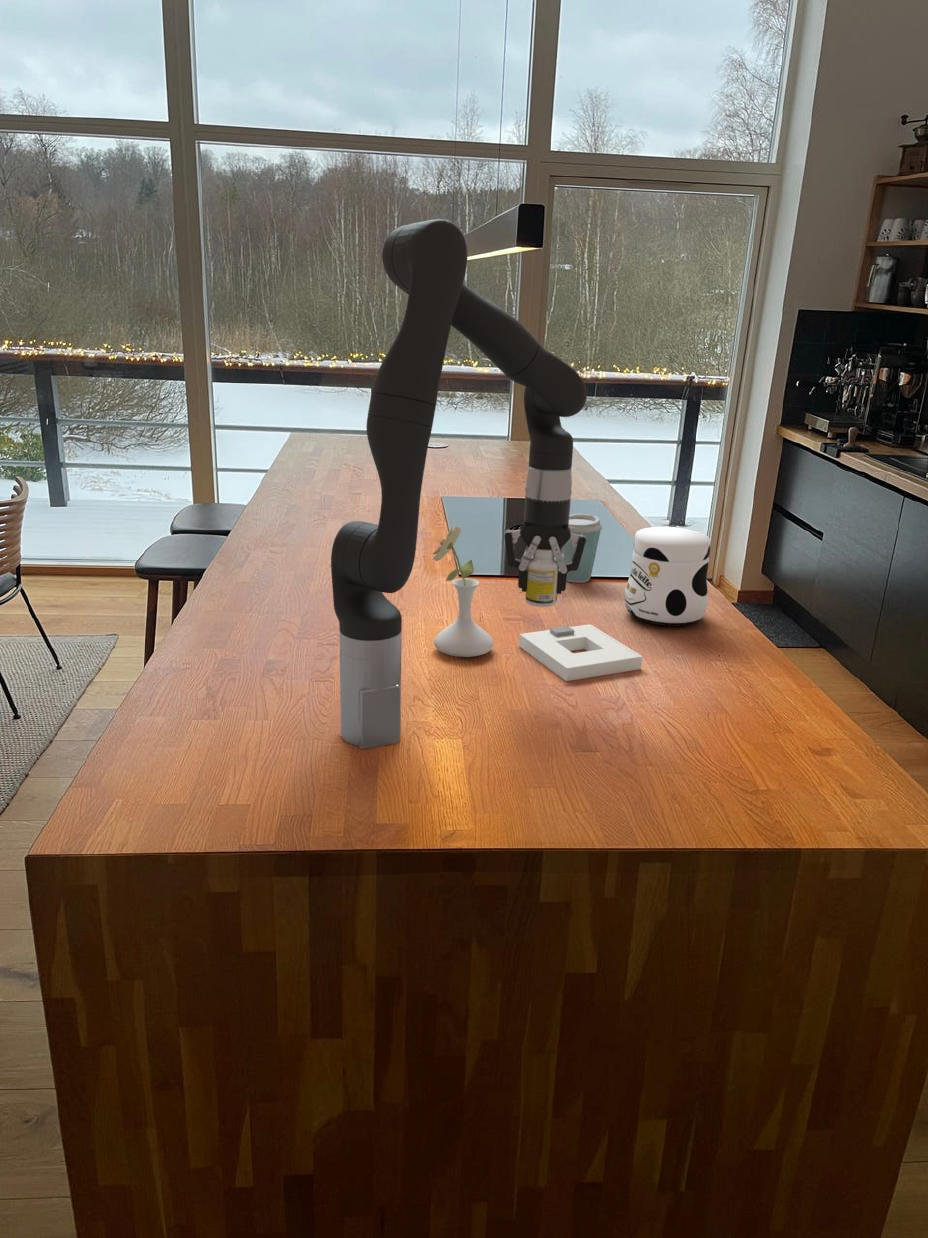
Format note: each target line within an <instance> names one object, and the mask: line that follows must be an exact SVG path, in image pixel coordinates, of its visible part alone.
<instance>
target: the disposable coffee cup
mask: <svg viewBox="0 0 928 1238" xmlns="http://www.w3.org/2000/svg"><path fill="white" fill-rule="evenodd" d="M602 525H603V524H602V523H601V519H600V517H599V516H596V515H593V514H590V513H589V514H586V513H573V514H569V529H570V531H571V533H574V534H578V535H580V534H584V535H585V536H586V543H585V546H584V550H583V553H582V556H581V560H580V563H579V567H578V569H577V570H576V571H569V572H568V573H567V579H566V582H569V583H575V584H577V583H578V584H579V583H580V584H582V583H587V582H590V579H591V577H592V573H593V568H594V565H595V563H594V562H595V558H596V556H597V555H596V554H597V551H598V550H597V549H598V546H599V545H598V544H599V541H600V537H601V535H600V534H601V530H603V526H602ZM561 549H562V552H563V555H564V558H565V561H566V563H568V562H571V561H572V557H573V554H574V550H575V547H573V545H572V540H571V539H569V540H568V541H567V543H566V544H565V545H564V546H563V547H562V548H561Z"/></svg>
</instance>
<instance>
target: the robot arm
mask: <svg viewBox="0 0 928 1238" xmlns="http://www.w3.org/2000/svg"><path fill="white" fill-rule="evenodd" d="M381 254H382V255H381V257H382V258H381V259H382V264H383V269H384V271H385V273H386V274H387V275H386V276H387V277H388V278H389V281H391V283H393V284H394V285H395V286H396V287H397V288H399V289H400V290H401V291H403V293H405V294H407V295H408V298H407V303H406V309H405V313H404V318H403V321H402V323H401V326H400V328H399V331H398V334H397V335H396V336H395V339H394V341H393V343H392V344H391V345H390V348H389V349H388V352H387V353H386V355H385V357H384V358H383V360H382V363H381V364H380V365H379V368H378V370H377V373H376V375H375V378H374V381H373V384H372V385H373V386H372V388H371V394H370V400H369V405H368V410H367V411H368V412H367V419H366V435H367V440H368V444H369V449H370V452H371V456H372V458H373V462H374V465H375V468H376V471H377V473H378V478H379V482H380V489H381V492H380V493H381V499H380V500H381V503H380V511H379V518H378V520H379V521H378V524H375V523H372V522H367V521H361V520H354V521H350V522H347V523H346V524H344V525H343V526H341V528H340V529H339V530H338V531H337V533H336V536H335V538H334V540H333V544H332V548H331V554H330V555H331V557H330V568H331V571H330V573H331V585H332V586H331V587H332V596H333V597H332V598H333V599H332V600H333V609H334V613H335V616H336V617H337V620H338V624H339V683H340V684H339V686H340V687H339V690H340V691H339V695H340V699H339V703H340V707H339V708H340V735H341V736H340V737H342V739H343V740H344V741H345V742H347V743H349V744H352V745H353V746H354V745H355V746H357V747H359V748H360V749H361V750H364V749H370V748H376V747H383V746H387V745H394V744H399V743H400V742H401V737H400V736H401V732H402V731H401V730H402V729H401V728H402V725H401V724H402V719H401V718H402V716H401V715H402V710H401V709H402V706H401V705H402V643H403V642H402V639H403V638H402V637H403V635H402V633H403V632H402V630H403V629H402V628H403V627H402V624H403V622H402V621H403V620H402V619H403V618H402V617H403V616H402V614H401V612H400V610H399V608H398V607H396V606H395V605H394V604H393V603H392V602H391V601H390V600H389V599H388V598H387V597H386V596H385V595H384V594H394V593H397V592H399V591H400V590H401V589H402V588H403V587H404V586H405V585H406V584H407V582H408V580H409V578H410V576H411V573H412V571H413V566H414V563H415V558H416V550H417V543H418V528H419V518H420V517H419V515H420V507H421V506H420V505H421V504H420V503H421V496H422V495H421V494H422V493H421V492H422V486H423V481H424V473H425V466H426V461H427V455H428V454H427V453H428V449H429V444H430V438H431V434H432V431H433V424H434V420H435V419H434V418H435V414H436V406H437V403H438V402H437V401H438V394H439V386H440V381H441V377H442V371H443V368H444V367H443V366H444V361H445V355H446V350H447V344H448V340H449V337H450V335H449V334H450V331H451V327H453V328H454V329H455V330H456V331H458V332H459V333H460V334H461V335H462V336H464V337H465V338H466V339H467V340H468V341H469V342H470V343H472V344H473V345H474V346H475V347H476V348H477V349H478V350H480V352H481V353H483V355H485V357H487V358H488V359H489V360H490V362H492V363H493V364H494V365H495V367H496V368H498V370H500V371H501V372H502V373H503V374H504V376H506V377H507V378H508V379H510V380H511V381H512V382H514V383H516V384H518V385H521V386H524V391H523V406H524V414H525V417H526V419H525V420H526V425H527V430H528V435H529V440H530V441H529V442H530V444H529V453H528V454H529V456H528V467H527V468H528V469H527V475H526V480H525V481H526V482H525V488H524V493H525V494H524V495H525V496H524V498H525V499H524V510H523V524H522V526H521V527H520V529H515V530H512V529H510V528H508V529H506V530H505V531H504V532H505V533H504V542H505V543H504V544H505V549H506V555H507V556H506V557H507V564H508V566H509V567H511V568H515V569H517V570H518V577H517V578H518V580H517V587H518V589H521V592H523V593H526V581H527V565H528V563H529V561H530V560H531V558H533V554H534V552H535V550H536V549H545V550H553V553H554V556H555V557H554V559H555V560H556V561H557V564H558V566H559V575H558V589H557V595H562V592H565V591H566V589H567V581H566V579H567V573H568V572H569V571H576V570H577V569H578V567H579V563H580V560H581V556H582V553H583V550H584V546H585V543H586V536H585V535H584V534H580V535H578V534H574V533H571V531H570V529H569V515H571V513H570V512H571V500H572V499H571V498H572V493H573V491H572V485H573V484H572V483H573V477H572V466H573V453H574V452H573V451H574V439H573V436H572V434H571V433H570V432H568V431H566V429H564V428H563V426H562V424H561V418H569V417H574V416H575V415H578V414H579V413H580V411H582V409H583V408H584V407H585V404H586V401H587V396H588V393H587V387H586V384H585V382H584V380H583V379H582V377H581V376H580V374H579V373H578V372H577V371H576V370H575V369H574V368H572V367H571V365H569V364H568V363H566V362H565V361H563V360H562V359H561V358H559V357H558V356H556V355H555V354H554V353H552V352H551V351H549V350H547V349H546V348H545V347H544V346H543V345H542V344H541V342H539V341H538V340H537V338H535V336H533V334H532V333H531V332H530V331H529V330H528V329H527V328H526V327H525V326H524V325H523V324H522V323H521V322H520V321H519V320H518V319H516V318H515V317H514V316H513V315H512V314H510V312H507V311H506V310H505V309H503V308H501V307H499V306H498V305H496V304H494V303H493V302H492V301H490V300H488V299H487V298H485V297H483V296H482V295H481V294H479V293H477V292H476V291H474V290H473V289H472V288H470V287H469V286H468V285H467V284H465V283H464V280H465V276H466V273H467V266H468V247H467V241H466V239H465V236H464V234H463V232H462V231H461V229H460V228H459V226H457V224H455V223H454V222H453V221H450V220H448V219H442V218H441V219H439V218H437V219H430V220H429V219H428V220H425V221H418V222H412V223H408V224H405V225H404V224H403V225H401V226H399V227H397V228H395V229H394V230H392V231H391V232H390V233H389V235H388V236H387V237H386V239H385V241H384V243H383V247H382V253H381ZM519 537H521V539H522V540H523V542H524V543H525V545H526V548H525V550H524V552H523V555H522V557H521V558H520V559H519V558H517V556H516V555H517V554H516V548H515V544H516V543H518V539H519ZM569 539H571V540H572V545H573V547H575V550H574V554H573V557H572V561H571V562H568V563H566V561H565V558H564V555H563V552H562V549H561V548H562V547H563V546H564V545H565V544H566V543H567V541H568V540H569Z"/></svg>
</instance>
